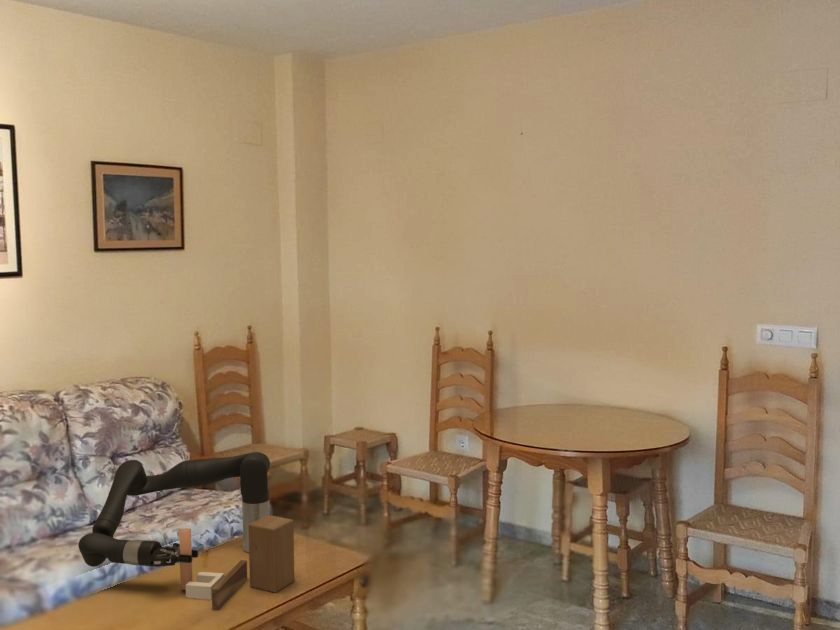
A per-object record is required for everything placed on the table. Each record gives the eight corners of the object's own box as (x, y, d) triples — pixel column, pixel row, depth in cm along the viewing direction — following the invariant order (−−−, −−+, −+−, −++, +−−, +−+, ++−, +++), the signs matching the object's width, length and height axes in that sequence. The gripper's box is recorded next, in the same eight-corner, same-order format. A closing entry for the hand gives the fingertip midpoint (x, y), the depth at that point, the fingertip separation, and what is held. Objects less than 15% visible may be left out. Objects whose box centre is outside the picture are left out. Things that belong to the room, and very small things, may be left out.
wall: (212, 609, 238) (211, 589, 237) (241, 578, 259) (240, 560, 259) (218, 609, 237) (218, 589, 237) (247, 578, 259) (246, 560, 258)
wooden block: (249, 587, 253) (247, 524, 251) (269, 575, 262) (268, 514, 260) (275, 593, 248) (273, 529, 247) (295, 581, 257) (293, 519, 255)
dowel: (189, 584, 253) (188, 527, 251) (194, 587, 250) (192, 530, 249) (178, 587, 251) (177, 530, 249) (183, 591, 248) (181, 533, 247)
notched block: (186, 597, 246) (185, 585, 245) (200, 584, 255) (200, 571, 255) (211, 599, 244) (210, 586, 244) (224, 585, 254) (224, 573, 254)
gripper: (130, 549, 245) (184, 553, 242) (153, 532, 259) (204, 536, 256) (130, 573, 246) (184, 577, 243) (153, 556, 259) (205, 559, 257)
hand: (194, 556), depth 249 cm, fingers closed on dowel, 3 cm apart
